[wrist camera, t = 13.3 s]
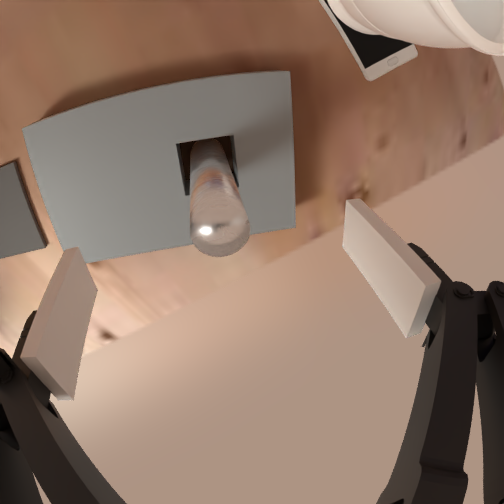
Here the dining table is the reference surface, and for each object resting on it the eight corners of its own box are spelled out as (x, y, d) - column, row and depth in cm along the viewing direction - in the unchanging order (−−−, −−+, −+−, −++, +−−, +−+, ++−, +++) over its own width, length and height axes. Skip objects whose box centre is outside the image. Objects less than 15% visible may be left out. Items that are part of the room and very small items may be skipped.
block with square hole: (79, 246, 29) (70, 266, 27) (39, 120, 21) (21, 128, 19) (285, 210, 32) (295, 227, 29) (278, 70, 23) (290, 71, 21)
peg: (193, 172, 28) (195, 260, 16) (188, 140, 26) (184, 209, 14) (225, 166, 28) (252, 251, 16) (222, 135, 26) (247, 199, 15)
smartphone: (369, 83, 25) (284, -47, 17) (365, 82, 25) (282, -45, 17) (420, 55, 23) (348, -67, 15) (416, 55, 24) (345, -65, 16)
